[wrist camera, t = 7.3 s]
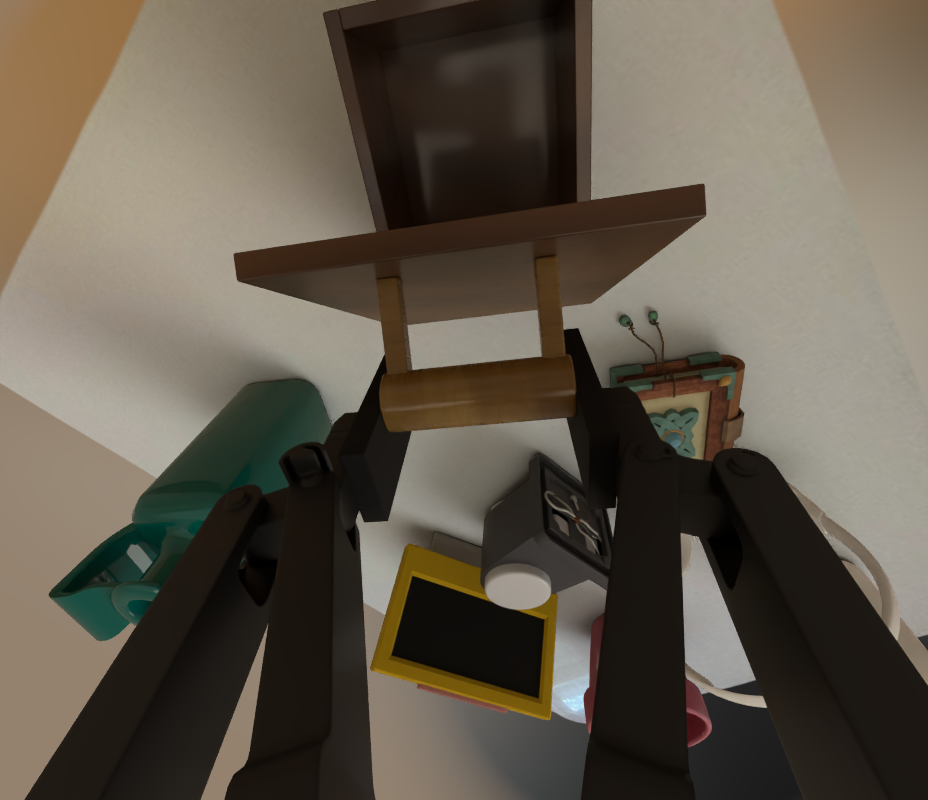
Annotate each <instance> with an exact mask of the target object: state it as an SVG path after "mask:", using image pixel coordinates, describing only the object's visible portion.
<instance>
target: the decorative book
mask: <svg viewBox="0 0 928 800" xmlns="http://www.w3.org/2000/svg"><path fill="white" fill-rule="evenodd" d="M657 318H658V313H657V312H656V311H653V312H650V313H649V319H650V321H649V322H650V323H651V324H652V325H656V327H657V329H658V331H659V333H660V337H661V341H662V363H661V364H658V362H657V355H656V353H655V351H654V349H653V348H652V347H651V346H650V345H649V344H648V343H646V342H645V341H644V340H642V339H640V338H639V337H638V336H637V335H636V334H635V333H634V331H633V329H635V328H633V322H632V320H631V319H630V318H629V317H627V316H623V317H622V318H621V319H620V321H619V322H620V325H622V326H624V327H628V326H630V328H629V330H632V333H633V335H634V336H635V337H636V338H637V339H638V340H640V341H642V342H644V343H645V344H646V345H647V346H648V347H650V348H651V349H652V351H653V353H654V354H655V360H656V364H654V365H648V366H641V365H640V364H637V365H630V366H624V367H617V368H611V369H610V384H611V388H612V387H623V386H627V387H628V388H630V389H631V390H632V391H634V392H635V393H637V395H638V397H639V398H640V400H641V402H642V405H643V406H644V408H645V410H646V413H647V414H648V416H649V418H650V420H651V422H652V424H653V425H654V427H655V429H656V431H657V433H658V435H659V437H660V439H661V440H663V441H665V442H667V443H669V444H670V445H672V446H673V447H674V448H675V449H676V451H677V454H679V455H682V456H685V457H689V458H694V459H701V460H708V461H713V458H714V457H715V455H716V453H718V452H720V451H721V450H723V449H729V448H733V445H734V440H736V439H737V438H739V437H740V436H741V431H742V425H743V418H744V412H743V411H742V410H741V409H740V408H739V404H740V397H741V390H742V383H743V376H744V369H745V364H744V362H743V361H742V360H741V359H739V358H737V357H734V356H731V355H720V354H719V353H718V352H714V353H708V354H701V355H695V356H688V357H687V360H680V361H674V362H667V363H664V341H663V337H662V333H661V331H660V329H659V326H658V325H659V323H658V322H656V321H657ZM652 320H653V321H652Z"/></svg>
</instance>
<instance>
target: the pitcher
mask: <svg viewBox="0 0 928 800" xmlns="http://www.w3.org/2000/svg"><path fill="white" fill-rule="evenodd" d="M331 429H332V426H331V423H330V420H329V418H328V415H327V412H326V410H325V407H324V404H323V402H322V399H321V396H320V394H319V392H318V391H317V389H316V388H315V387H314V386H313V385H311V384H309V383H308V382H306V381H302V380H287V381H276V382H265V383H254V384H248V385H247V386H245V387H243V388H242V389H241V390H240V391H239V392H238V393H237V394H236V395H235V396H234V397H233V399H232V400H231V401H230V402H229V403H228V404H227V405H226V406H225V407H224V408H223V409H222V410H221V411H220V412H219V413H218V414H217V416H216V417H215V418H214V419H213V420H212V421H211V422H210V423H209V424H208V425H207V426H206V427H205V428H204V429H203V430H202V431H201V433H200V434H199V435H198V436H197V437H196V438H195V439H194V440H193V441H192V442H191V443H190V444H189V445H188V446H187V447H186V448H185V450H184V451H183V452H182V453H181V454H180V455H179V456H178V457H177V458H176V459H175V460H174V461H173V462H172V463H171V464H170V465H169V467H168V468H167V469H166V470H165V471H164V472H163V473H162V474H161V475H160V476H159V477H158V478H157V479H156V480H155V481H154V483H153V484H152V485H151V486H150V487H149V488H148V489H147V490H146V491H145V492H144V493H143V494H142V495H141V497H140V498H139V500H138V502H137V504H136V506H135V508H134V510H133V514H132V521H133V523H131V524H129V525H128V526H126V527H125V528H123V529H121V530H120V531H119V532H117V533H115V534H114V535H112V536H111V537H109V538H108V539H107V540H105V541H104V542H103V543H101V544H100V545H99V546H98V547H97V548H95V549H94V550H93V551H92V552H91V553H90V554H89V555H88V556H87V557H86V558H85V559H84V560H82V561H81V562H80V563H79V564H78V565H77V566H76V567H75V568H74V569H73V570H72V571H71V572H70V573H69V574H68V575H67V576H66V577H64V578H63V579H62V580H61V581H60V582H59V583H58V584H57V585H56V586H55V587H54V588H53V589H52V590H51V592H50V593H49V596H50V598H51V599H52V600H54V602H56V603H57V604H58V605H59V606H60V607H61V608H62V609H64V610H65V611H66V612H67V613H68V614H69V615H70V616H71V617H72V618H73V619H74V620H75V621H76V622H78V623H79V624H80V625H81V626H82V627H83V628H84V629H85V630H86V631H87V632H89V633H90V634H91V635H92V636H93V637H94V638H95V639H96V640H99V641H105V640H108V639H111V638H113V637H114V636H116V635H117V634H119V633H120V632H121V631H122V630H123V629H124V628H125V627H126V626H127V625H128V624H130V623H132V624H134V625H135V626H137V625H138V623H139V621H140V620H141V618H142V617H143V615H144V614H145V612H146V611H147V609H148V607H149V606H150V604H151V603H152V601H153V600H154V598H155V597H156V595H157V594H158V592H159V590H160V589H161V587H162V586H163V584H164V583H165V581H166V580H167V578H168V576H169V575H170V573H171V572H172V570H173V569H174V567H175V566H176V564H177V563H178V561H179V559H180V558H181V556H182V555H183V553H184V552H185V550H186V549H187V547H188V545H189V544H190V542H191V541H192V539H193V538H194V536H195V535H196V533H197V532H198V530H199V528H200V527H201V525H202V524H203V522H204V521H205V519H206V518H207V516H208V514H209V513H210V511H211V510H212V508H213V507H214V505H215V504H216V502H217V501H218V500H219V499H220V498H221V497H222V496H223V495H224V494H226V493H227V492H229V491H230V490H232V489H234V488H237V487H239V486H243V485H247V484H251V485H257V486H258V487H260V488H261V490H262V492H263V494H267V493H270V492H273V491H277V490H280V489H283V488H286V487H289V483H288V481H287V479H286V477H285V475H284V473H283V471H282V469H281V467H280V465H279V463H278V462H279V460H280V458H281V456H282V455H283V454H284V453H285V452H286V451H288V450H289V449H291V448H293V447H294V446H296V445H299V444H302V443H306V442H319V443H321V444H324V442H326V438H327V436H328V434H330V430H331ZM242 561H243V559H242ZM242 561H241V563H242ZM240 565H241V564H240Z"/></svg>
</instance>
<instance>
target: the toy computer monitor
mask: <svg viewBox="0 0 928 800" xmlns="http://www.w3.org/2000/svg"><path fill="white" fill-rule="evenodd" d="M481 558H482V548H480V547H477V546H474V545H472V544H469V543H466V542H463V541H460V540H458V539H455V538H452V537H449V536H446V535H444V534H441V533H438V532H435V533H434V537H433V540H432V543H431V547H430V550H428V549H425V548H422V547H419V546H416V545H413V544H411V543H410V544H408V545H407V546H406V547H405V549H404V552H403V556H402V559H401V563H400V566H399V570H398V573H397V577H396V580H395V584H394V587H393V591H392V594H391V598H390V601H389V604H388V608H387V611H386V615H385V618H384V622H383V625H382V629H381V632H380V636H379V639H378V643H377V647H376V650H375V653H374V657H373V660H372V664H371V667H370V669H371V671H375V672H378V673H381V674H385V675H389V676H392V677H396V678H399V679H403V680H406V681H410V682H413V683H417V684H418V686H417V688H418V689H421V690H425V691H428V692H432V693H435V694H439V695H442V696H446V697H450V698H453V699H457V700H460V701H464V702H467V703H471V704H474V705H478V706H481V707H485V708H488V709H492V710H496V711H499V712H503V713H507V711H508V710H512V711H516V712H519V713H522V714H526V715H530V716H533V717H537V718H540V719H544V720H549V719H551V703H552V686H553V668H554V651H555V634H556V616H557V599H558V596H557V594H552V595H550V597H549V599H548V600H547V601H546V602H545V603H543V604H542V605H540V606H538V607H535V608H531V609H523V610H517V609H509V608H505V607H502V606H499V605H497V604H495V603H494V602H492V601H491V600H490V599H489V598H488V597H487V595H486V593H485V590H484V589H483V587H482V586H481V583H480V573H481Z"/></svg>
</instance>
